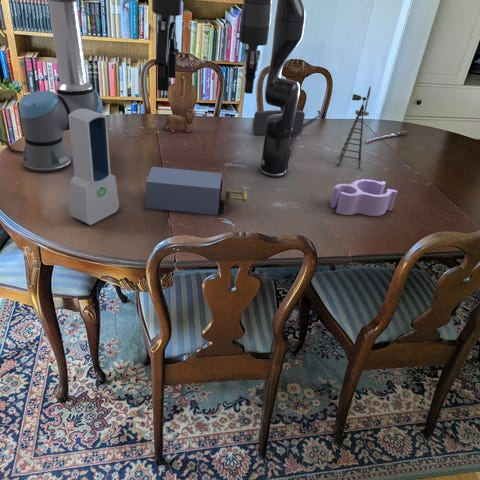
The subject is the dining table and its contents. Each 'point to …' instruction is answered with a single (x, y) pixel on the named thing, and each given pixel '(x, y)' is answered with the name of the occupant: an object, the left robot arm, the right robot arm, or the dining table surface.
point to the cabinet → (183, 190)
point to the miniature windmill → (359, 113)
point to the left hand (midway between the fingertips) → (166, 83)
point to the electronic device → (91, 168)
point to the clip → (363, 198)
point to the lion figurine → (181, 120)
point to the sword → (384, 137)
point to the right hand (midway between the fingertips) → (248, 92)
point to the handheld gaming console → (262, 116)
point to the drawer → (227, 197)
